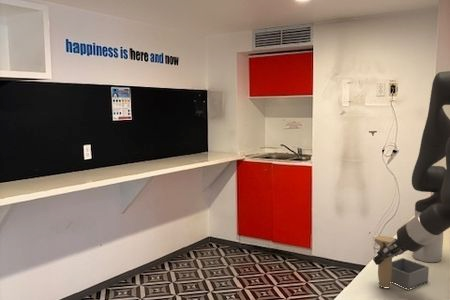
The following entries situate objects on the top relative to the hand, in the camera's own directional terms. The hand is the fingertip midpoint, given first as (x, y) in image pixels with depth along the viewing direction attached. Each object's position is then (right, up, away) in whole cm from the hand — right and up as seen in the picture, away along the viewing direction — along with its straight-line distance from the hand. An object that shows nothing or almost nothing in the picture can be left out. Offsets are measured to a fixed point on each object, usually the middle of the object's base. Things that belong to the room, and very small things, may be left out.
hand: (379, 260), depth 129 cm
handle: (+1, -8, -1) cm, 8 cm away
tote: (+9, -7, +3) cm, 12 cm away
